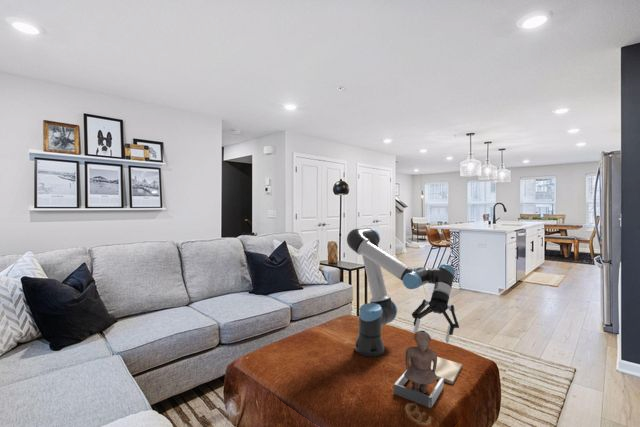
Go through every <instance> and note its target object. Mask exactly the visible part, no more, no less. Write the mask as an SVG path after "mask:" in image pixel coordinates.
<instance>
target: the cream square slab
mask: <svg viewBox="0 0 640 427" xmlns="http://www.w3.org/2000/svg"><path fill="white" fill-rule="evenodd" d="M462 368H463V364H462V363H459V362H457V361H456V362H455V361H452V360H449V359H446V358H443V357H439V356H437V365H436V370H435V374H436V376H437V380H438V381H440V379H441V378H444V383H447V384H449V385H453V384H454V382H455V381H456V380H457V378H458V377H459V376H458V375H459V373H460V372H461V370H462ZM431 369H432V370H433V361H431Z"/></svg>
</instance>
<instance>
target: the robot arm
mask: <svg viewBox="0 0 640 427" xmlns="http://www.w3.org/2000/svg"><path fill="white" fill-rule="evenodd" d="M380 241H381V236H380V233H379V232H378V231H377V230H376V229H374V228H372V227H362V228H360V227H359V228H353V229H352V230H350V231H349V233H348V234H347V237H346V243H347V245H348V247H349V248H350V250H352V251H353V252H354V253H356V254H358V255H359V256H362V260H363V265H364V268H365V273H366V278H367V282H368V286H369V291H370V294H371V298H370V299H369V303H368V302H367V303H364V304H362V305H361V306H360V307H359V312H358V316H359V317H358V336H357V339H356V342H355V345H354V350H355V352H357V353H358V354H359V355H360V356H364V357H373V358H374V357H379V356H382V355H384V353H385V345H384V342H383V338H382V327H383V326H385V325H387V324H389V323H392V321H393V320H395V319H396V317H397V315H398V307H397V304H396V303H395V302H394V301H393V300H392V297H391V296H390V295H388V293H387V292H388V291H387V289H386V285H385V280H384V276H383V272H382V271H383V270H385V271H387V272H388V273H390V274H391V275H392V276H394V277H395V278H397V279H399V280H401V281H402V283H403V286H404V287H405V288H406V289H407V290H415V289H419V288H420V287H422V286H425V285H427V284H434V286H433V290H432V293H431V297H430V300H429V301H428V300H426V299H423V300H422V301H421V304H420V305H418V307H417V308H416V309H414V311H413V312H412V313H411V316H412V318H413V319H414V321H413V326H414V328H413V333H414V334H415V333H416V332H418V331H419V328H420V327H419V326H420V323H421V320H420V319H422V318H424V317H425V316H427V315H429V314H431V313H435V314H439V315H441V314H442V315H443V316H444V318H445V319H446V322H447V323H448V324H449V325H448V327H447V331H446V335H445V339H444V340H445V343H449V341H450V336H453V334H454V331H455V329H459V328H460V324H459V322H458V319H457V315H456V313H455V306H454V305H453V304H451V305H449V301H450V296H451V291H452V287H453V284H454V280H455V274H456V270H455V269H456V268H454V267H453V266H452V265H450V264H447V263H442V264H440V265H439V266H438V268H431V267H421V266H420V267H419V266H418V267H415V268H411V267H410V266H408V265H407V264H405V263H403V262H402V261H400V260H399V259H397V258H396V257H394V256H392V255H391V254H390V253H387V252H386V251H384V250H383V249H381V248H379V244H380ZM382 269H383V270H382ZM447 310H449V311H450V312H451V316H452V319H453V321H452V320H451V317H450V316H449V315H448V313H447ZM453 322H454V323H453Z"/></svg>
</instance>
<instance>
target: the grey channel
mask: <svg viewBox="0 0 640 427" xmlns="http://www.w3.org/2000/svg"><path fill="white" fill-rule="evenodd" d="M406 371H407V369H406V370H405V371H404V372H403V373H402V375H401V376H400V377H399V378H398V379H397V380H396V381H395V382H394V383H393V394H394V395H396V396H399V397H401V398H404V399H407V401H408V400H409V401H411V402H414V403H416V404H418V405H421V406H424V407H427V408H429V409H432V408H433V405H434V404H435V403H436V401H437V399H438V398H439V396H440V394H441V393H442V391H443V389H444V384H445V382H444V378H441V379H440V380H438V382H437V384H436V385H435V387H434V388H433V389H432V392H431V393H430V395H428V394H427V393H422V392H421V391H420V392H418V391H415V390H413V388H410V387H406V386H405V385H406V383H407V382H408V379H407V378H405V376H404V373H405V372H406Z"/></svg>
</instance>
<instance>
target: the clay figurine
mask: <svg viewBox="0 0 640 427" xmlns="http://www.w3.org/2000/svg"><path fill="white" fill-rule="evenodd" d="M413 339H414V341H415V342H416V345H417V346H409V347H407V348H406V349H405V367H406V370H407V371H406V370H405V371H406V372H405V371H404V372H405V373H404V372H403V374H404V376H405V378H407V379H408V380H409V381H410V382H412V383H411V384H412V386H411V387H412V388H411V389H412V390H415V391H418V392H420V393H423V394H427V393H428V389H427V386H428V385H432V384H434V383H435V382H436V381H437V380H438V379H437V376H436V374H435V370H436V365H437V357H438V354H437V352H436V351H435V350H434V349H432V348H429V347H430V343H431V341H432V338H431V335H430V334H429V333H428V332H427V331H426V330H418V331H417V332H416V333H414V336H413ZM431 361H433V370H432V369H431Z"/></svg>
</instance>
